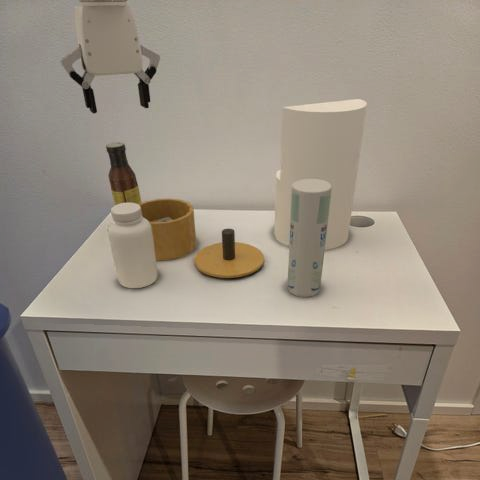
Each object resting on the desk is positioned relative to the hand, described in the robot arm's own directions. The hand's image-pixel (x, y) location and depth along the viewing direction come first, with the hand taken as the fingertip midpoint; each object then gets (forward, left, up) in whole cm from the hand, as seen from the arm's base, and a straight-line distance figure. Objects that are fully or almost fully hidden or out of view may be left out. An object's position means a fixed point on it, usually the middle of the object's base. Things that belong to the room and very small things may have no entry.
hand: (119, 109), depth 81 cm
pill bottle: (-5, -13, -29) cm, 32 cm away
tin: (+5, -2, -29) cm, 29 cm away
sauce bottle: (+1, +11, -29) cm, 31 cm away
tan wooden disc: (+14, -16, -28) cm, 35 cm away
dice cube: (+5, -2, -28) cm, 29 cm away
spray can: (+22, -32, -29) cm, 48 cm away
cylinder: (+37, -13, -29) cm, 49 cm away
